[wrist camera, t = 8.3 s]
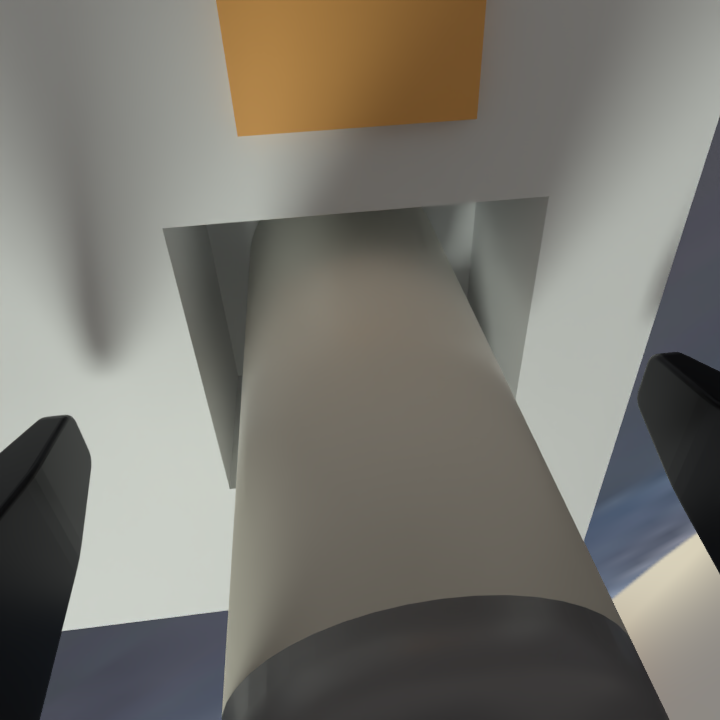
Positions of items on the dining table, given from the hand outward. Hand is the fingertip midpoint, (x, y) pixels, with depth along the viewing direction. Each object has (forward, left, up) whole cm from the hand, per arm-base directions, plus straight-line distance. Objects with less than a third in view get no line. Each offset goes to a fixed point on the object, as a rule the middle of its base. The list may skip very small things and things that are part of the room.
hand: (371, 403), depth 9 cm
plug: (0, 0, -4) cm, 5 cm away
